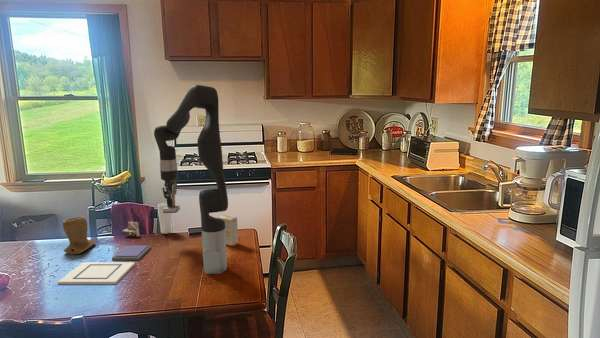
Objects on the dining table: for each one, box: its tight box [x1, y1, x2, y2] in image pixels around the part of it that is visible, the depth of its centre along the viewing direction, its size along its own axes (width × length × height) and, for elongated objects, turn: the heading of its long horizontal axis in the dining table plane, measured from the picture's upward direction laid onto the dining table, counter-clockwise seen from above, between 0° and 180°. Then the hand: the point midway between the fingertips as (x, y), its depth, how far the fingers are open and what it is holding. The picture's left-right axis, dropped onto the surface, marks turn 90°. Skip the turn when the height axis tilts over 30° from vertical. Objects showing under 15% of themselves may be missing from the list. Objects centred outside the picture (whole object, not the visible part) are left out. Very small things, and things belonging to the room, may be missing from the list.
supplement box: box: [217, 214, 239, 247], centre depth 197 cm, size 8×5×13 cm, turn 58°
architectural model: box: [122, 221, 140, 238], centre depth 209 cm, size 3×7×7 cm, turn 75°
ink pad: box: [111, 245, 152, 261], centre depth 186 cm, size 14×12×2 cm
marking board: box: [57, 261, 136, 285], centre depth 166 cm, size 18×22×1 cm
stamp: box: [163, 194, 181, 214], centre depth 195 cm, size 6×6×8 cm
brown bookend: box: [62, 215, 96, 255], centre depth 191 cm, size 15×12×15 cm
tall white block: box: [157, 201, 173, 235], centre depth 213 cm, size 7×7×15 cm
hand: (171, 205), depth 195 cm, fingers closed on stamp, 3 cm apart
